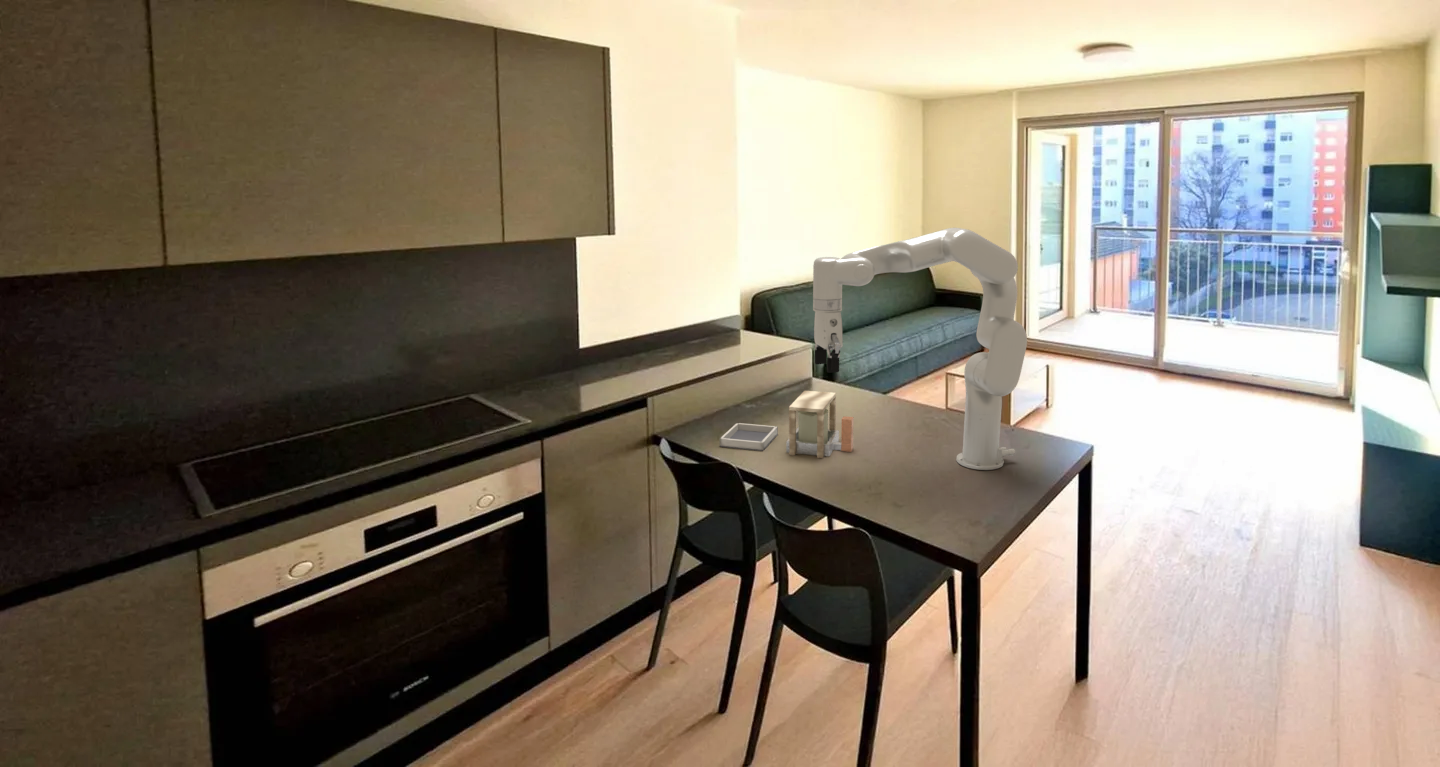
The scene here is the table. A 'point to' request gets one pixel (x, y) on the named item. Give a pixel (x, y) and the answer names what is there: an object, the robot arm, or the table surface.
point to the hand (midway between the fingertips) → (826, 367)
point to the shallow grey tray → (832, 440)
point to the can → (811, 426)
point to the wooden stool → (817, 403)
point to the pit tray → (749, 436)
